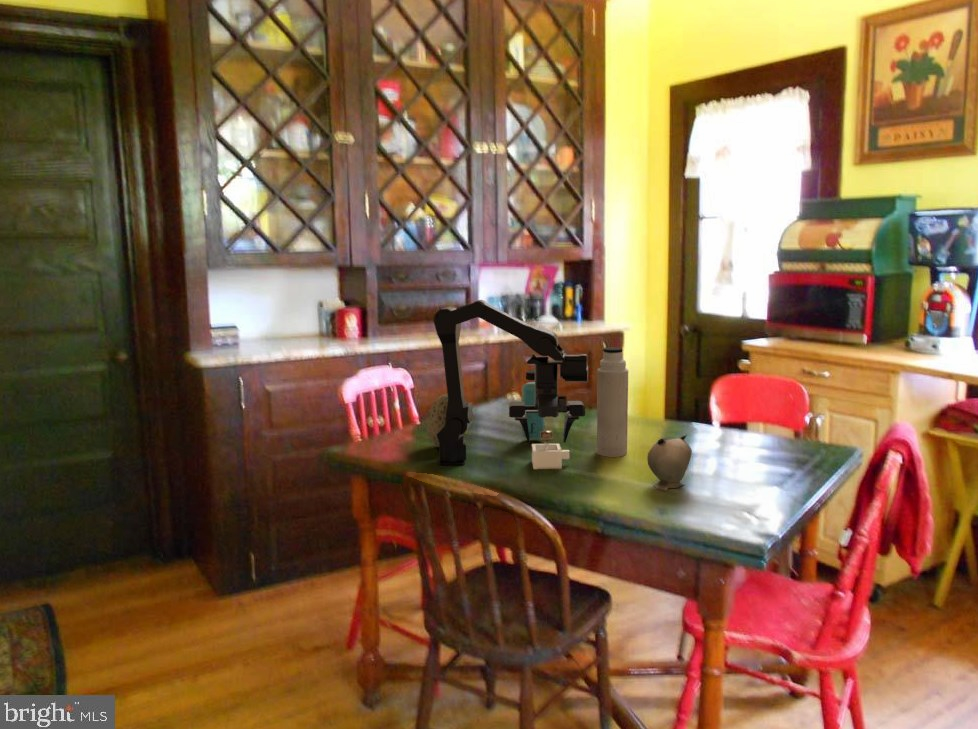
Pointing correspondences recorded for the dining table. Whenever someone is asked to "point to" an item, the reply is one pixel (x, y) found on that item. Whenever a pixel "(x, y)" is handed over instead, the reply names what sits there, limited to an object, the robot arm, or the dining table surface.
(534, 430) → the beverage bottle
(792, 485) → the dining table surface
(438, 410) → the decorative egg
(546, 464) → the square box with handle
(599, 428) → the thermos bottle
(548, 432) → the brown stemmed glass
